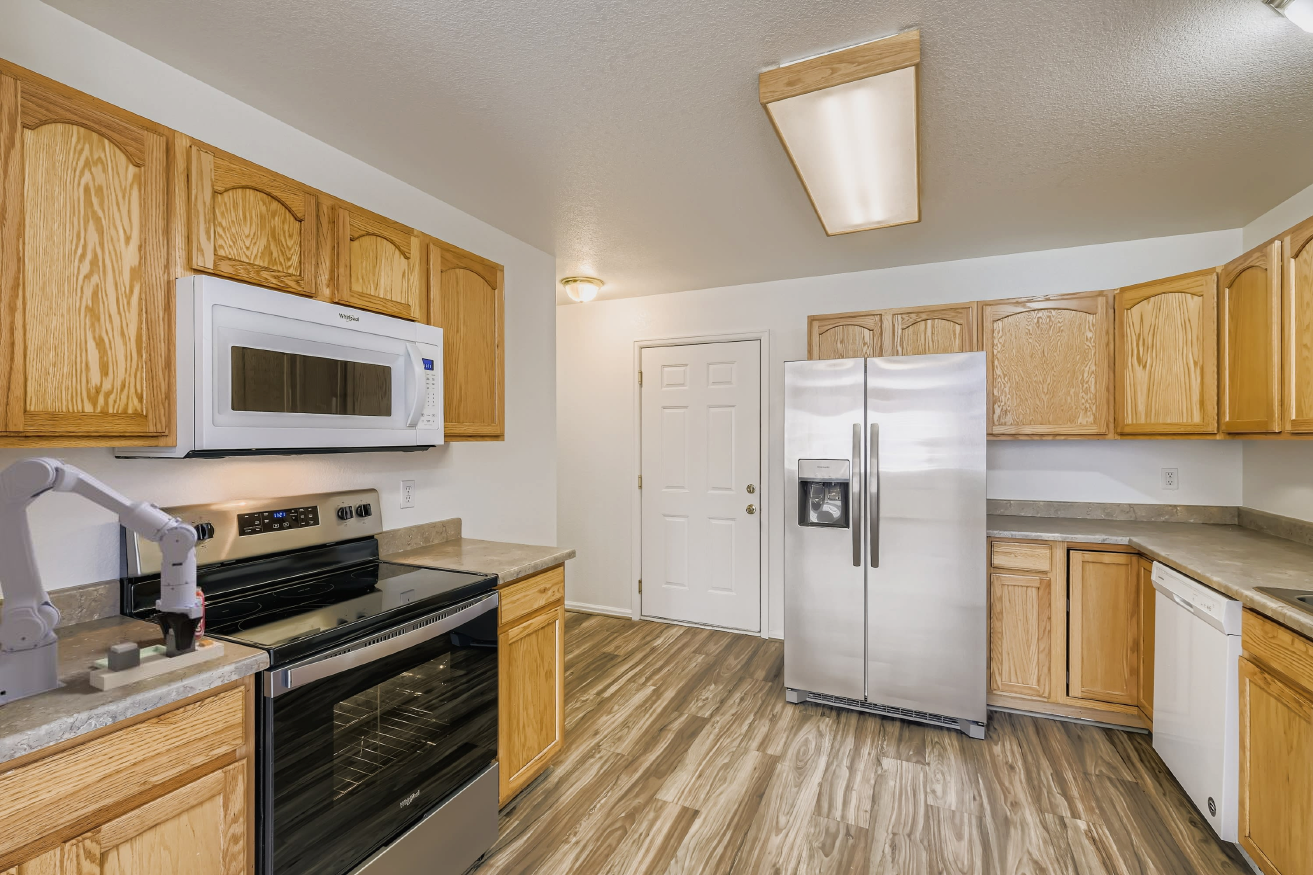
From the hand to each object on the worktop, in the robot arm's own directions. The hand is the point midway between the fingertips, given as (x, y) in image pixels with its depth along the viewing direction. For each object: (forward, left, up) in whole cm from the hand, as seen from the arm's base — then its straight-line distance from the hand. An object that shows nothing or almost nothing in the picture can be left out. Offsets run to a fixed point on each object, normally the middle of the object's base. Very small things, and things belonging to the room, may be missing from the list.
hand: (178, 647), depth 122 cm
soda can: (+9, +18, -4) cm, 20 cm away
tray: (-3, +9, -4) cm, 10 cm away
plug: (0, 0, -2) cm, 2 cm away
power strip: (-3, 0, -4) cm, 5 cm away
